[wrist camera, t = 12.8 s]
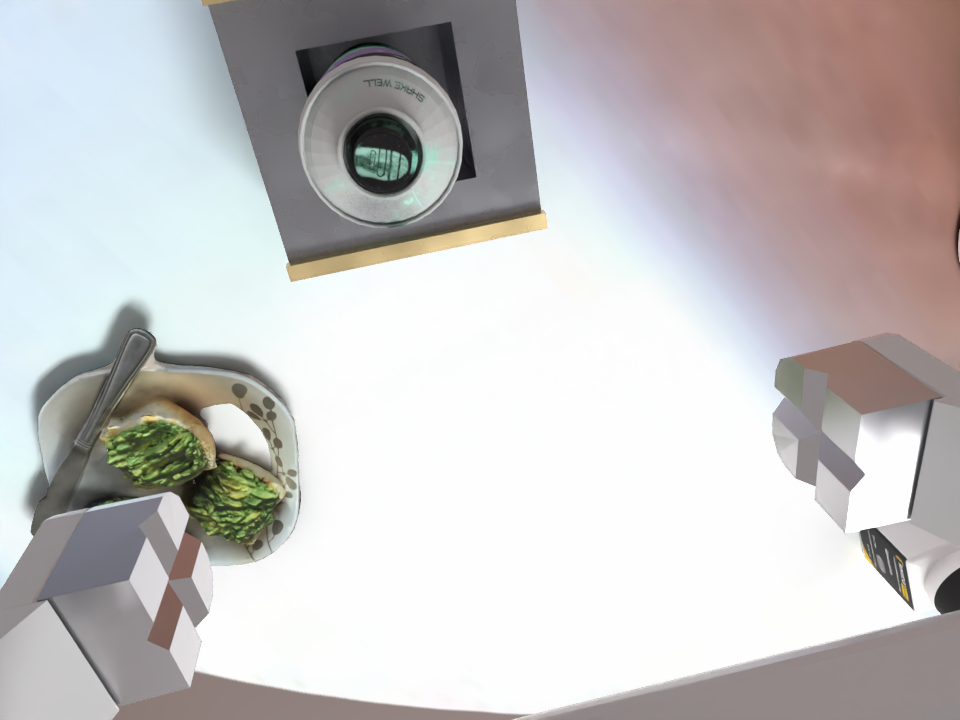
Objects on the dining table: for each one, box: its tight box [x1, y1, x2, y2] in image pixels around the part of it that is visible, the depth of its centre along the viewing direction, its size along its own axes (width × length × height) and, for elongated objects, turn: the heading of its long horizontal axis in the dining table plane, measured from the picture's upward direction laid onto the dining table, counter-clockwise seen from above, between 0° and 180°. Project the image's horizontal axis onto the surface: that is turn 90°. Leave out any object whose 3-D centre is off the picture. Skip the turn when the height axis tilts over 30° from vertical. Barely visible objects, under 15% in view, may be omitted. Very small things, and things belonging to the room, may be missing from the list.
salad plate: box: [31, 328, 301, 566], centre depth 46 cm, size 19×18×5 cm
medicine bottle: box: [859, 520, 960, 614], centre depth 57 cm, size 7×7×12 cm
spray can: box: [298, 42, 463, 228], centre depth 29 cm, size 6×6×20 cm
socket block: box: [202, 0, 547, 282], centre depth 36 cm, size 13×13×9 cm
